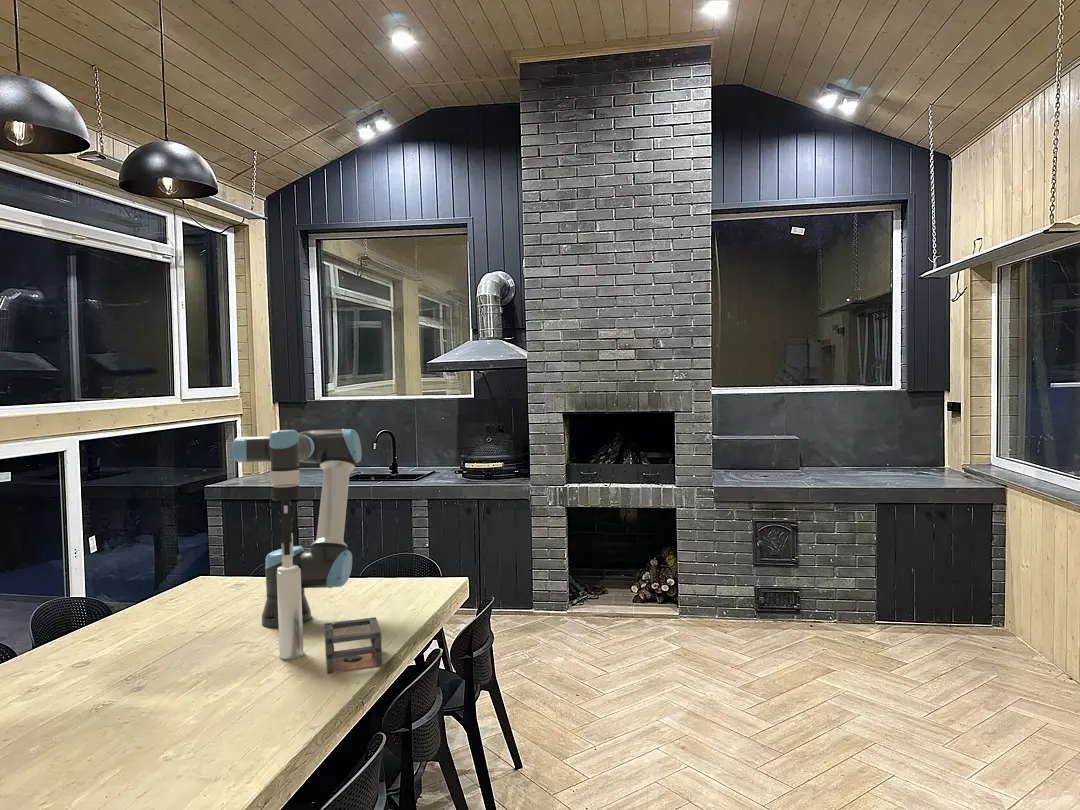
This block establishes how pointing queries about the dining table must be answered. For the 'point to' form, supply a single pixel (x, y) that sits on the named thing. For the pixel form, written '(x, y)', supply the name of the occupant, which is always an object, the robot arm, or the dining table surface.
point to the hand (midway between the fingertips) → (288, 561)
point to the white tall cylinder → (290, 612)
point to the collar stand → (353, 657)
